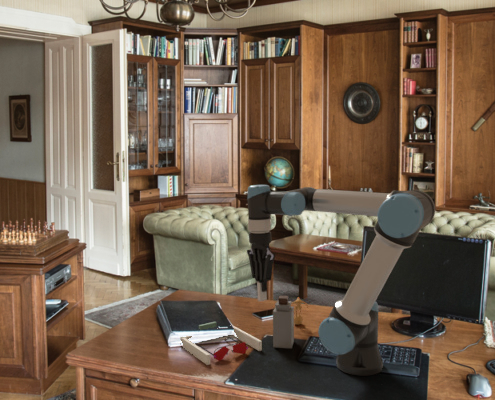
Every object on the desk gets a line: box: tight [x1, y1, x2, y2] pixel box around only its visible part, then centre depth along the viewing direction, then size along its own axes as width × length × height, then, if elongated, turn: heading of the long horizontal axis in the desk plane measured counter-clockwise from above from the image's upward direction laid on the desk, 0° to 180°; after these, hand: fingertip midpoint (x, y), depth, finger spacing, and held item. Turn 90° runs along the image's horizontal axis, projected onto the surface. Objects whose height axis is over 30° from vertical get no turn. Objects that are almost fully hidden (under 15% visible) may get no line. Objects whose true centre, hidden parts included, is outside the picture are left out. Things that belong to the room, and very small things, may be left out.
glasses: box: [196, 336, 249, 361], centre depth 200 cm, size 14×16×5 cm
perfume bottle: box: [272, 295, 295, 349], centre depth 204 cm, size 7×7×18 cm
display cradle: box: [179, 321, 263, 366], centre depth 202 cm, size 20×22×6 cm
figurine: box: [291, 296, 309, 326], centre depth 224 cm, size 8×6×12 cm
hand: (262, 300), depth 188 cm, fingers closed
